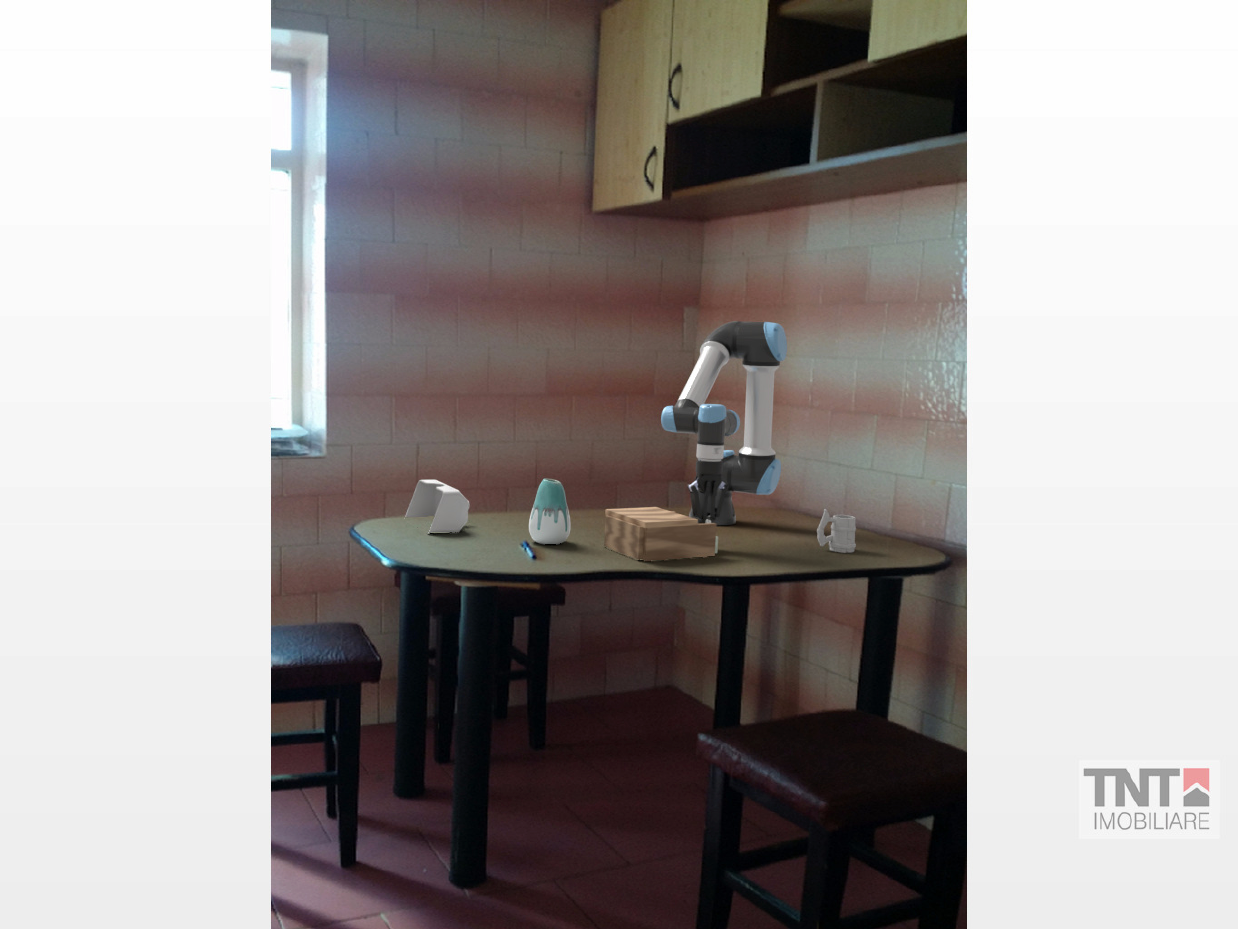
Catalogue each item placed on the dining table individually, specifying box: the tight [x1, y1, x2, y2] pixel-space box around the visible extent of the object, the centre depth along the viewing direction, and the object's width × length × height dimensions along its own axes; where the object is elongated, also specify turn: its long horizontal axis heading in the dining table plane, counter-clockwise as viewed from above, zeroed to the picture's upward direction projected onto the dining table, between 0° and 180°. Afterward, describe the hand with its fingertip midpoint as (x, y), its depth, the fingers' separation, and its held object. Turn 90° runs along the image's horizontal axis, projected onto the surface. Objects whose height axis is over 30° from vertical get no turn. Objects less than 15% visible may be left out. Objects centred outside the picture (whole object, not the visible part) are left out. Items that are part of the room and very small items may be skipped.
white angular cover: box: [404, 479, 471, 533], centre depth 312 cm, size 25×16×12 cm, turn 27°
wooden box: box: [603, 506, 718, 562], centre depth 289 cm, size 21×24×10 cm
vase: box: [528, 478, 571, 545], centre depth 294 cm, size 12×12×18 cm
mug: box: [816, 508, 857, 554], centre depth 303 cm, size 8×12×12 cm, turn 103°
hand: (704, 542), depth 297 cm, fingers closed
